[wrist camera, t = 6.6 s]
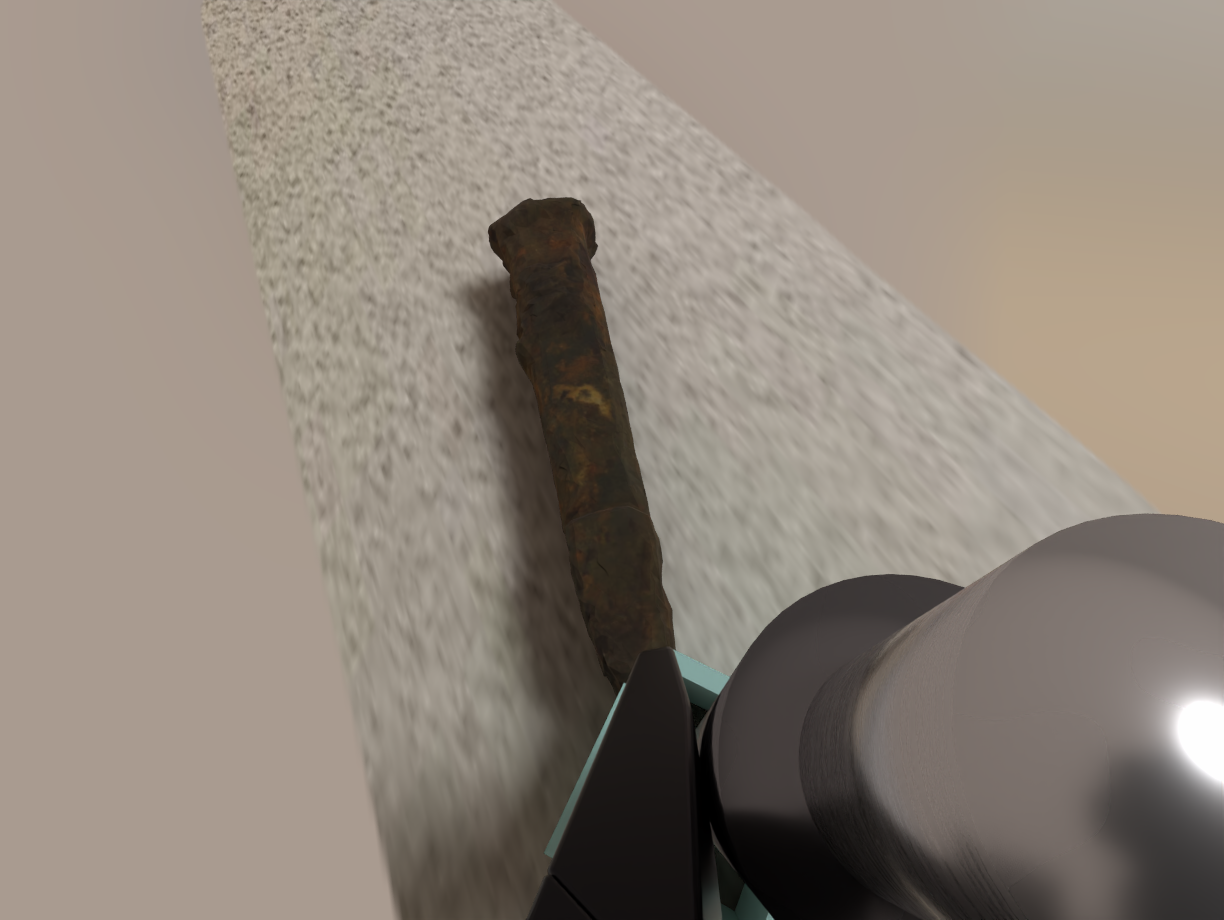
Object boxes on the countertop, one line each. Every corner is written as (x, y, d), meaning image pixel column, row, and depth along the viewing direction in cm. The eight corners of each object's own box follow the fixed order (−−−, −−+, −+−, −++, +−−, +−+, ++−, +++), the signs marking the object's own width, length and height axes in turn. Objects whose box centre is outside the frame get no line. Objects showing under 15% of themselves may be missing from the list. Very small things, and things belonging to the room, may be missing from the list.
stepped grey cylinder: (838, 862, 13) (2187, 1498, 2) (685, 858, 13) (837, 1394, 2) (820, 701, 15) (1473, 374, 3) (680, 699, 15) (748, 392, 3)
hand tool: (503, 273, 28) (474, 186, 24) (597, 256, 28) (585, 166, 24) (565, 763, 20) (538, 762, 16) (697, 739, 20) (704, 730, 16)
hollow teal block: (745, 941, 18) (769, 989, 14) (568, 837, 19) (543, 853, 15) (813, 745, 20) (852, 737, 16) (649, 662, 21) (646, 635, 17)
